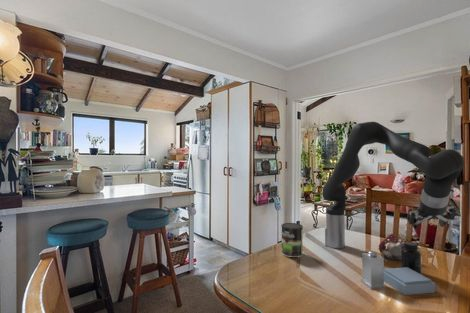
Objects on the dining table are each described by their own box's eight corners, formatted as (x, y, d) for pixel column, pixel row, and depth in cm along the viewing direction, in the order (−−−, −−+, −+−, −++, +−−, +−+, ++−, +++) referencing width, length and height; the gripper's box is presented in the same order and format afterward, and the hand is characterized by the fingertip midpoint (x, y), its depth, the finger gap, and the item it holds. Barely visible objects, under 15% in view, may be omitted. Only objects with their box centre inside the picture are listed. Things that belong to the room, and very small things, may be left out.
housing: (370, 289, 91) (370, 255, 91) (360, 281, 97) (360, 249, 97) (385, 288, 92) (385, 254, 92) (374, 280, 97) (374, 248, 97)
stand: (404, 295, 87) (404, 283, 87) (380, 278, 99) (380, 268, 99) (435, 292, 88) (435, 280, 88) (407, 276, 100) (407, 266, 100)
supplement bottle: (418, 270, 105) (417, 241, 105) (424, 277, 99) (424, 247, 99) (399, 268, 108) (398, 240, 108) (404, 275, 101) (403, 245, 101)
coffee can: (296, 259, 117) (296, 229, 117) (277, 254, 124) (277, 225, 124) (306, 253, 125) (306, 225, 125) (288, 248, 132) (288, 221, 132)
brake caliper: (397, 247, 125) (404, 232, 118) (406, 268, 117) (416, 253, 110) (372, 246, 127) (379, 232, 120) (381, 267, 118) (388, 253, 111)
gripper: (452, 187, 87) (444, 215, 97) (406, 193, 91) (402, 220, 101) (465, 204, 82) (455, 232, 91) (415, 210, 86) (411, 236, 95)
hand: (428, 226), depth 96 cm, fingers open, 8 cm apart
